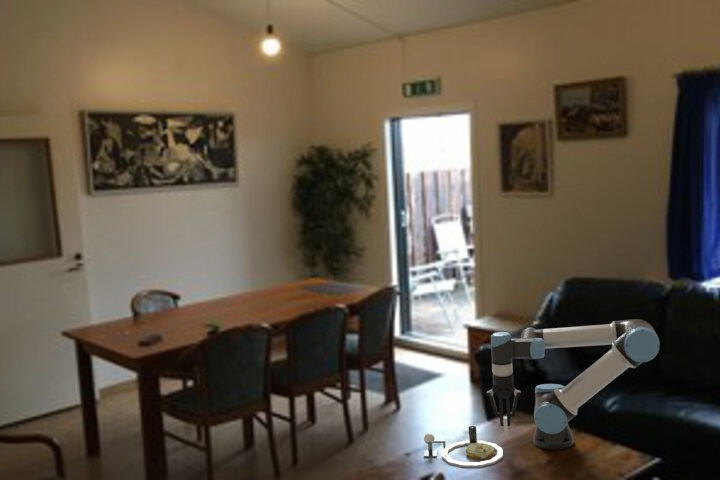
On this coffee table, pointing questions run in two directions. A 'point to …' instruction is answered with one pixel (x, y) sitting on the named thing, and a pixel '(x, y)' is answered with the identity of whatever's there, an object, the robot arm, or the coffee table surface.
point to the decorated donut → (480, 451)
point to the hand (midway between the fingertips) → (505, 434)
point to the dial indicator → (430, 440)
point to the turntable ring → (471, 440)
